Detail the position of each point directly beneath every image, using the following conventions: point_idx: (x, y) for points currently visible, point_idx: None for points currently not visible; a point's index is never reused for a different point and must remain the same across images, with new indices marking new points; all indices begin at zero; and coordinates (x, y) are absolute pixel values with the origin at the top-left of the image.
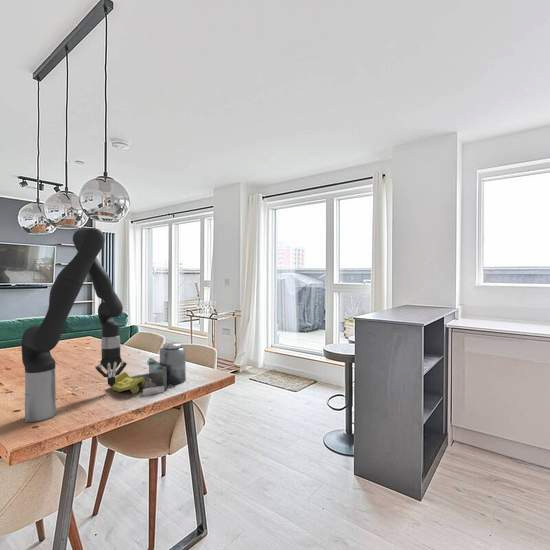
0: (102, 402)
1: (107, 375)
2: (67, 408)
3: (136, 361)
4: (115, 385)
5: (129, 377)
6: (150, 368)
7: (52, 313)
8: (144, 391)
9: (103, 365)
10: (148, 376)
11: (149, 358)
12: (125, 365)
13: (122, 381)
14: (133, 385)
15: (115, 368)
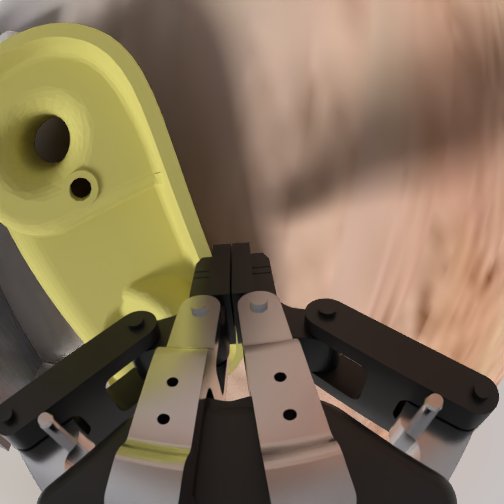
0: (327, 22)
1: (290, 327)
2: (497, 85)
3: None
4: (196, 244)
5: (110, 381)
6: (4, 389)
7: None
8: (9, 35)
9: (406, 463)
10: (40, 371)
11: (4, 448)
12: (14, 400)
13: None
14: (31, 44)
15: (154, 392)
